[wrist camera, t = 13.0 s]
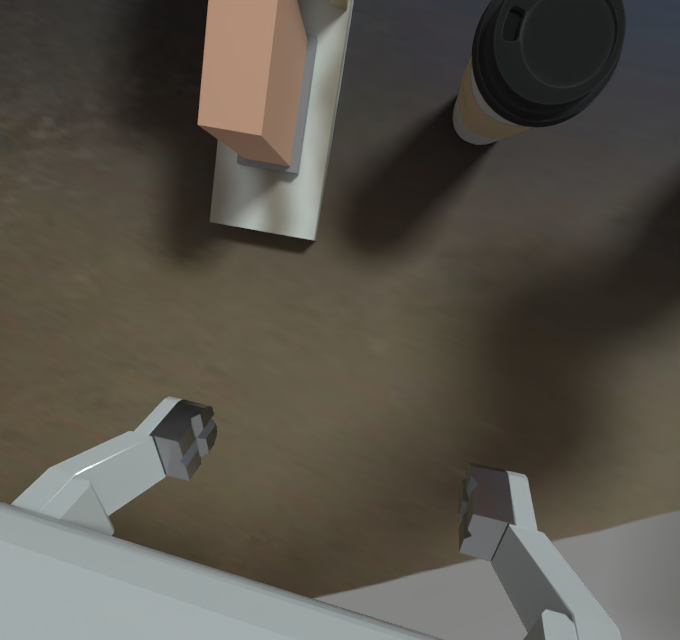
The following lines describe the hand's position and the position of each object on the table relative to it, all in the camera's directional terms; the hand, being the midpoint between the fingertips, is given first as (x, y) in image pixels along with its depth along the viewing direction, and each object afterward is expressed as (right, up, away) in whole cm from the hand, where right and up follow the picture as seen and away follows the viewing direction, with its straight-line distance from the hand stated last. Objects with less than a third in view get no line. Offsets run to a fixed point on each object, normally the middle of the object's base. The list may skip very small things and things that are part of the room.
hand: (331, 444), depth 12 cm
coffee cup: (+14, +24, +26) cm, 39 cm away
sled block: (-6, +25, +25) cm, 36 cm away
